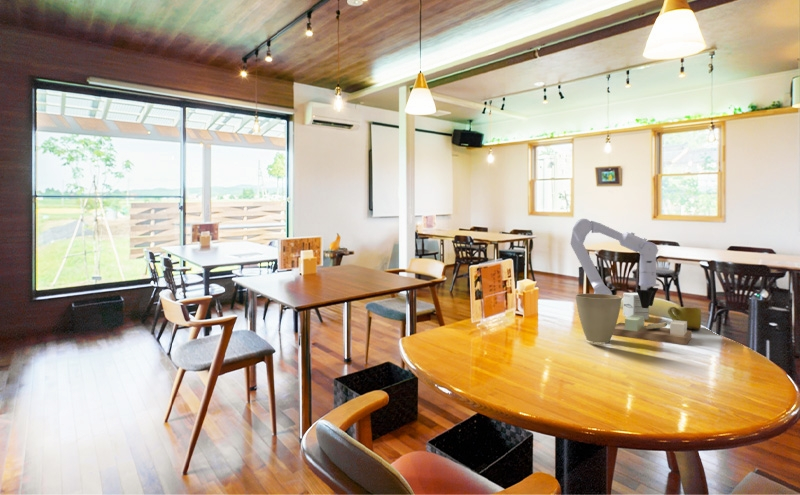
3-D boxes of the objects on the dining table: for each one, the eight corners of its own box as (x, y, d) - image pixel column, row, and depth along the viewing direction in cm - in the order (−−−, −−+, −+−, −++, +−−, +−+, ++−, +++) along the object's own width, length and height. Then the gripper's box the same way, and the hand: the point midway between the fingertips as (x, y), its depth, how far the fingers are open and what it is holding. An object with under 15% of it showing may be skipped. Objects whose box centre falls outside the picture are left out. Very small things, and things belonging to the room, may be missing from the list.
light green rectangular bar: (624, 329, 159) (625, 319, 159) (632, 324, 168) (632, 314, 168) (636, 331, 156) (637, 320, 156) (644, 326, 165) (644, 315, 165)
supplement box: (622, 321, 188) (622, 292, 188) (637, 321, 189) (638, 292, 189) (633, 324, 181) (633, 294, 181) (649, 324, 182) (649, 294, 182)
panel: (610, 334, 162) (610, 323, 162) (619, 328, 173) (619, 318, 173) (686, 344, 147) (686, 332, 146) (691, 337, 157) (691, 326, 157)
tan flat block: (646, 329, 158) (645, 326, 158) (649, 326, 162) (648, 324, 162) (664, 327, 154) (664, 324, 155) (667, 324, 158) (666, 322, 158)
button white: (670, 334, 151) (670, 323, 151) (673, 330, 157) (673, 319, 157) (683, 336, 149) (683, 324, 149) (686, 332, 155) (687, 321, 155)
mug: (692, 328, 173) (692, 304, 173) (707, 334, 163) (708, 308, 163) (660, 328, 175) (660, 303, 174) (673, 333, 164) (674, 307, 164)
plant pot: (620, 338, 156) (620, 294, 156) (622, 347, 143) (622, 299, 142) (575, 334, 162) (576, 292, 162) (573, 342, 149) (574, 297, 148)
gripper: (655, 274, 161) (655, 310, 161) (662, 271, 172) (662, 305, 172) (634, 273, 165) (634, 308, 165) (642, 270, 176) (642, 303, 177)
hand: (647, 306), depth 169 cm, fingers open, 7 cm apart
